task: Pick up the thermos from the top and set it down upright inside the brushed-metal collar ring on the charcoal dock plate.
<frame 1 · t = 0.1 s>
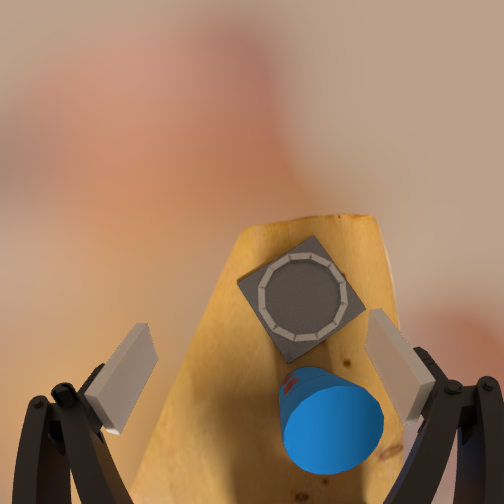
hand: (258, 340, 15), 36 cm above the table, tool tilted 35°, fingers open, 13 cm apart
thermos: (307, 392, 45), on the table
collar dock: (302, 298, 51), on the table
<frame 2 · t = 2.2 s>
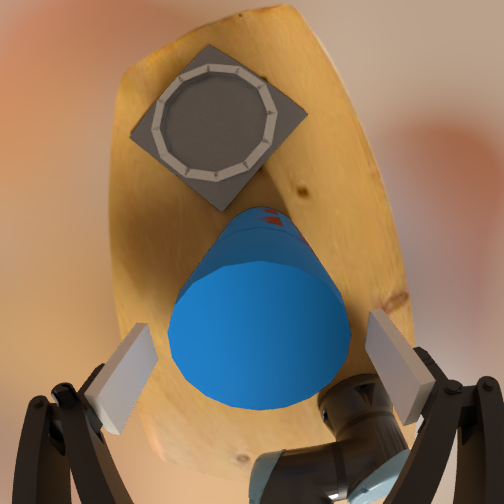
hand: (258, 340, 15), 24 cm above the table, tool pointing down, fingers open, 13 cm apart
thermos: (261, 243, 39), on the table
collar dock: (214, 122, 34), on the table
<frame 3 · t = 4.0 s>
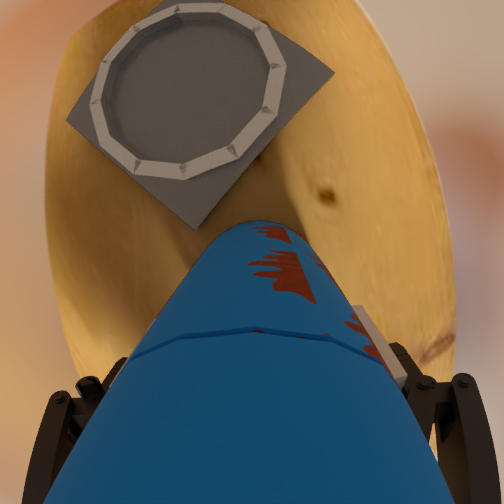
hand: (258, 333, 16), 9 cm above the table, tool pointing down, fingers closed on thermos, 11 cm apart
thermos: (259, 277, 24), on the table, touching gripper
collar dock: (185, 87, 20), on the table
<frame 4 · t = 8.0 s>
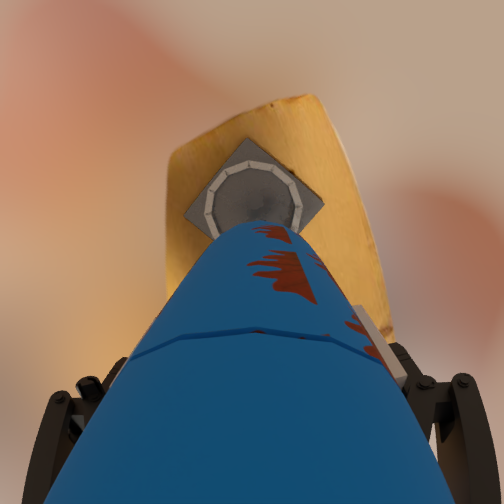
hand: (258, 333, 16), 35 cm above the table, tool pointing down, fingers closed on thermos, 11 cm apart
thermos: (259, 277, 24), point 26 cm above the table, touching gripper
collar dock: (253, 208, 48), on the table
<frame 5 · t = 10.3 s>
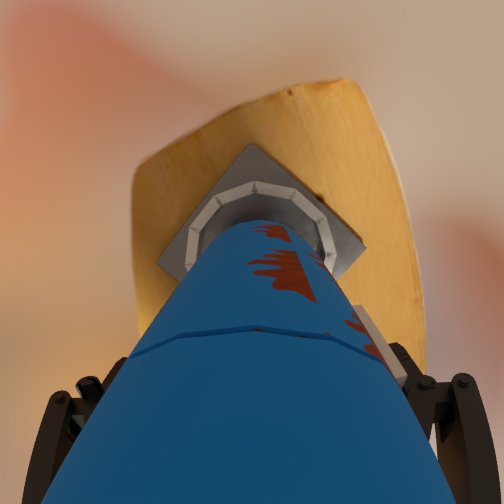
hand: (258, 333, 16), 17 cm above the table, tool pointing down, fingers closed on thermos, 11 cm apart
thermos: (259, 277, 24), point 8 cm above the table, touching gripper
collar dock: (260, 253, 32), on the table
when the fingers open (11 cm above the table, at t = 12.0 s): thermos drops 1 cm, resting on collar dock.
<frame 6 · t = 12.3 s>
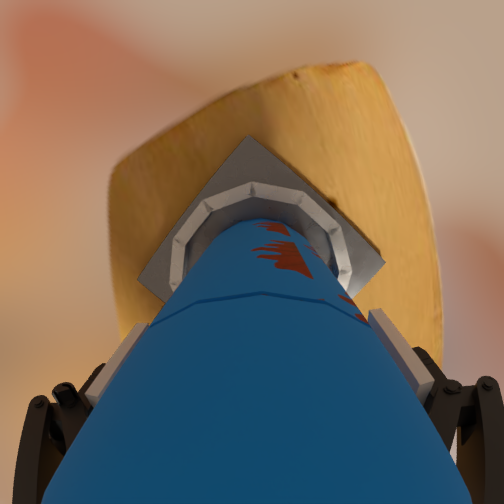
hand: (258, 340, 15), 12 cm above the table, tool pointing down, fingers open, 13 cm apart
thermos: (260, 272, 26), point 1 cm above the table, touching collar dock
collar dock: (260, 269, 27), on the table
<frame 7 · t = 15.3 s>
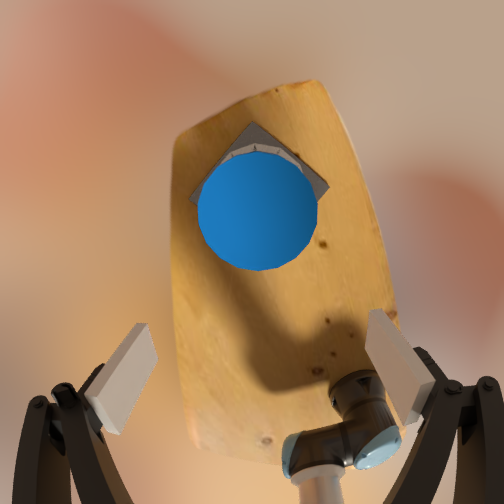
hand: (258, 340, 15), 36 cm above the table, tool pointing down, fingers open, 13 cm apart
thermos: (259, 191, 47), point 1 cm above the table, touching collar dock
collar dock: (259, 191, 48), on the table
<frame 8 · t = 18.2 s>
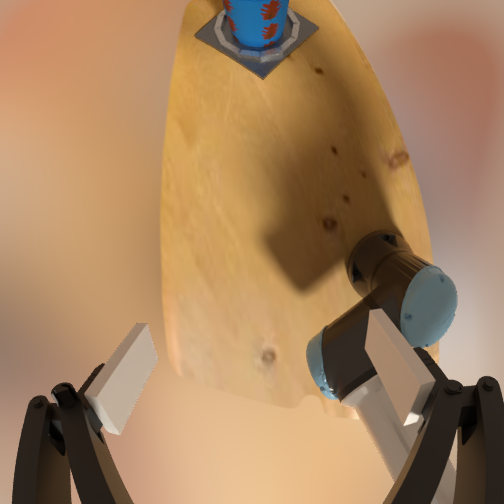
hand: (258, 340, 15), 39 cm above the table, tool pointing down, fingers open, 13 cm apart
thermos: (257, 28, 40), point 1 cm above the table, touching collar dock
collar dock: (257, 29, 41), on the table
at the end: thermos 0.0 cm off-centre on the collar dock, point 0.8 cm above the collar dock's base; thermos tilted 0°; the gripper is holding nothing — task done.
